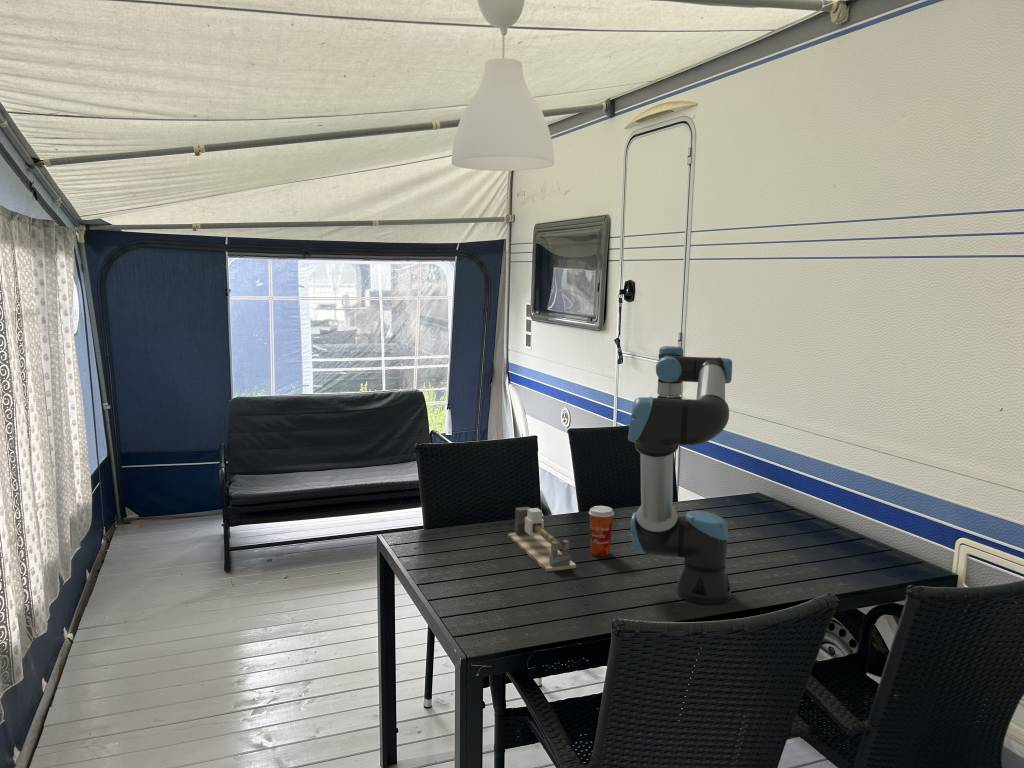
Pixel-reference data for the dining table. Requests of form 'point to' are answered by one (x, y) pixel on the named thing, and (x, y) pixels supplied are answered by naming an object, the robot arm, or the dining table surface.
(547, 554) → the cord rig
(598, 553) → the coffee cup
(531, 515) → the sleeve
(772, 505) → the dining table surface
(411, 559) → the dining table surface
